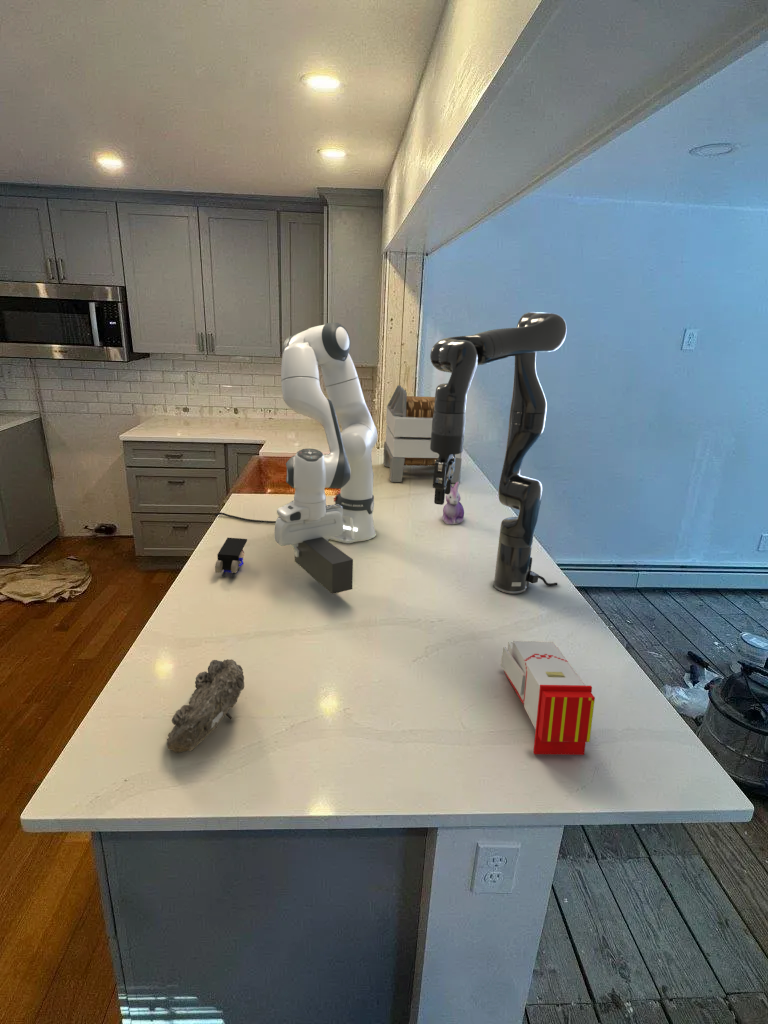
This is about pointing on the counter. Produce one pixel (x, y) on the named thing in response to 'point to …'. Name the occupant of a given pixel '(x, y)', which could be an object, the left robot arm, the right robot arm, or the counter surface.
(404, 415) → the transformer
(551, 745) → the toy
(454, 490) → the figurine
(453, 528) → the counter surface
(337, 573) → the box
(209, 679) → the fossil
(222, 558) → the black wheeled block
